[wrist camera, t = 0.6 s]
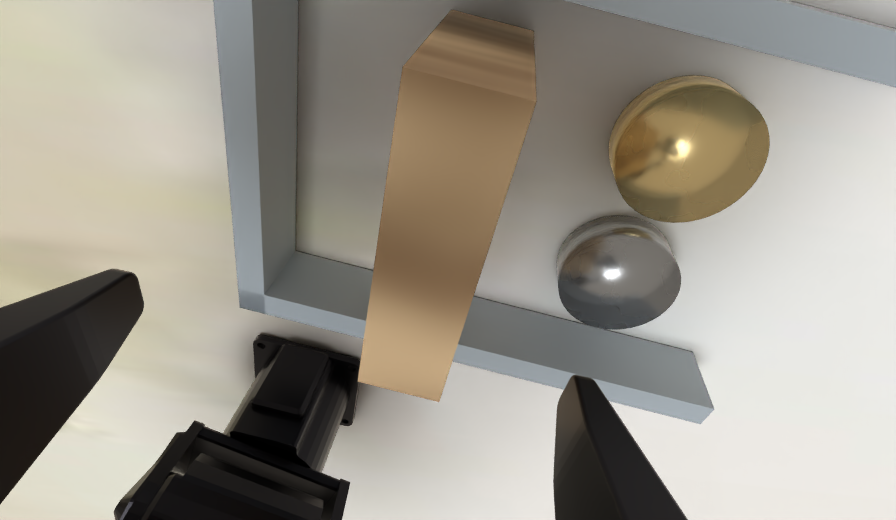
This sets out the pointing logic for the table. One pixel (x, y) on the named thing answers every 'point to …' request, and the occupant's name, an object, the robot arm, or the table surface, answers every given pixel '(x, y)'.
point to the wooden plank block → (444, 195)
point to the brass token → (687, 149)
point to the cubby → (488, 323)
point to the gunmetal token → (617, 273)
